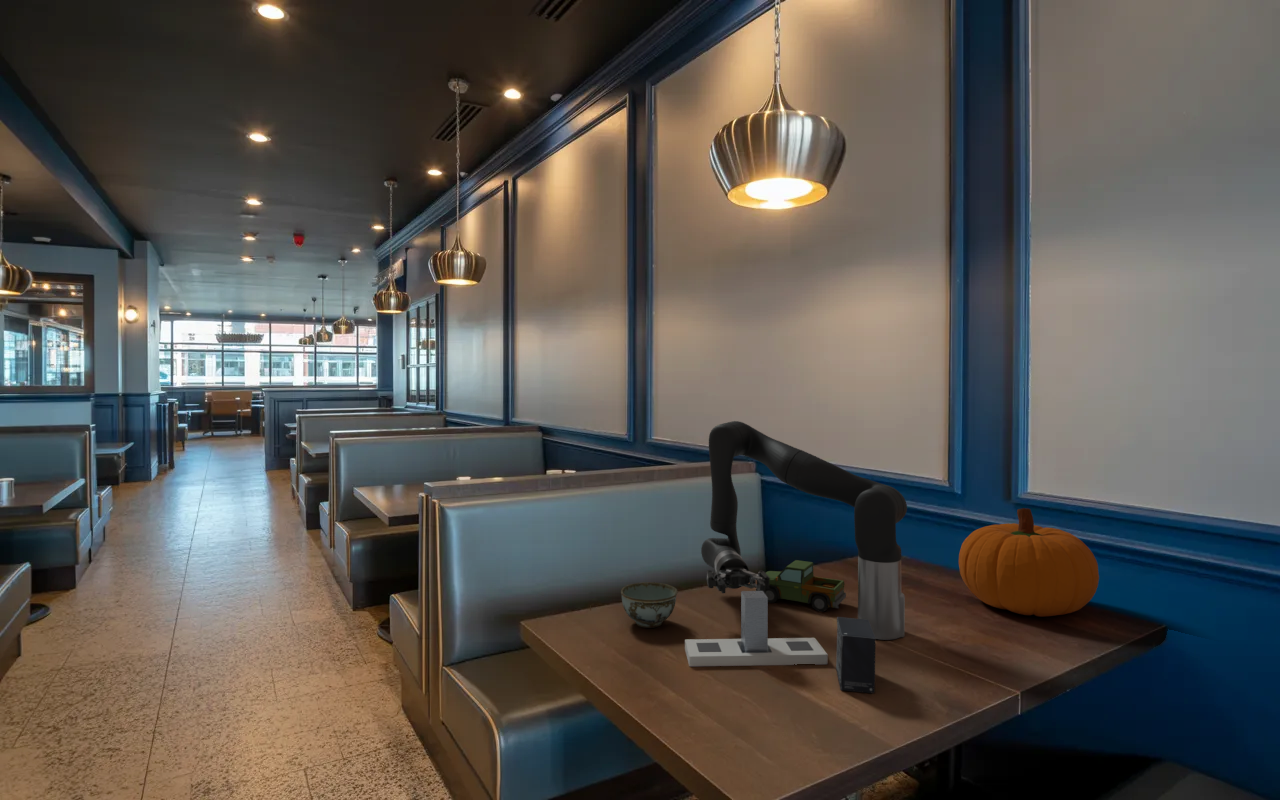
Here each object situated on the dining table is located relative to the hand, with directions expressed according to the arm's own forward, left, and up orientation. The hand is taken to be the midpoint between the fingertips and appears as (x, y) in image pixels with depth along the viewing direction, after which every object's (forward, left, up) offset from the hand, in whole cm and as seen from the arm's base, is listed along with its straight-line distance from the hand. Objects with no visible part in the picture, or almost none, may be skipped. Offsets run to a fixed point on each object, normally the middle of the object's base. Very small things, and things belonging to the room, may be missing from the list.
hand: (742, 589), depth 151 cm
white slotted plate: (0, +11, -11) cm, 16 cm away
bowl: (+21, -9, -11) cm, 25 cm away
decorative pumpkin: (-76, -18, -11) cm, 79 cm away
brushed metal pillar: (0, +11, -11) cm, 16 cm away
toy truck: (-19, -23, -11) cm, 32 cm away
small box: (-17, +23, -11) cm, 31 cm away
